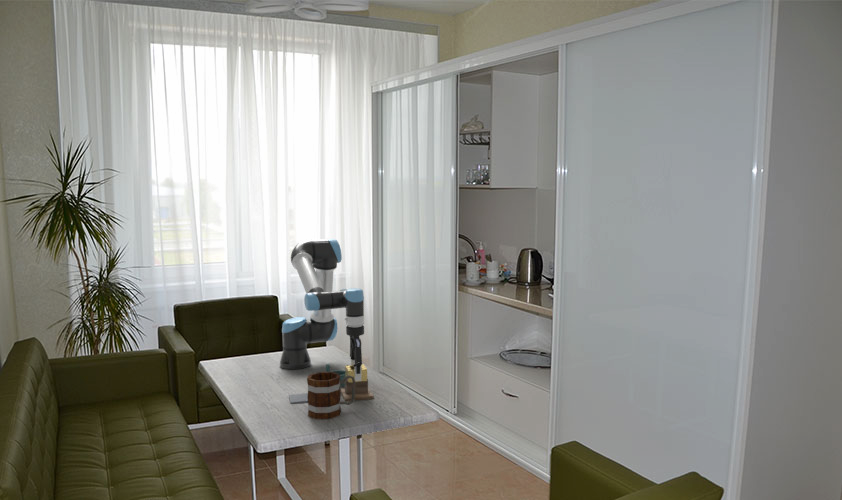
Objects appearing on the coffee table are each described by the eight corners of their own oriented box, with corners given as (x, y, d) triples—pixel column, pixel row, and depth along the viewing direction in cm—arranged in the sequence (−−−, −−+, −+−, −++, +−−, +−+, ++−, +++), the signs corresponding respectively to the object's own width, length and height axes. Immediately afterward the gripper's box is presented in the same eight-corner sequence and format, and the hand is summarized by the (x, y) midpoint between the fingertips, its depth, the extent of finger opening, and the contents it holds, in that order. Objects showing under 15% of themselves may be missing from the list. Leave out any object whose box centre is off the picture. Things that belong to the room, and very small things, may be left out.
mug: (312, 421, 252) (311, 383, 250) (303, 410, 264) (302, 374, 262) (361, 414, 259) (360, 376, 258) (350, 403, 272) (350, 367, 270)
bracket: (351, 384, 296) (351, 365, 296) (332, 388, 292) (331, 368, 291) (343, 379, 304) (342, 360, 303) (324, 383, 300) (324, 363, 299)
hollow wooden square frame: (345, 377, 284) (345, 365, 284) (363, 375, 286) (363, 364, 286) (348, 382, 277) (348, 370, 276) (367, 380, 279) (367, 369, 278)
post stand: (340, 391, 287) (339, 361, 286) (367, 388, 291) (366, 359, 289) (345, 401, 274) (344, 370, 273) (373, 398, 277) (373, 368, 276)
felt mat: (288, 396, 281) (288, 394, 281) (312, 393, 284) (312, 392, 284) (290, 403, 272) (290, 402, 272) (315, 401, 275) (315, 400, 275)
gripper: (342, 320, 288) (343, 371, 290) (350, 331, 268) (351, 385, 270) (359, 319, 290) (360, 370, 292) (368, 330, 270) (369, 384, 273)
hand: (356, 377), depth 281 cm, fingers closed on hollow wooden square frame, 8 cm apart
